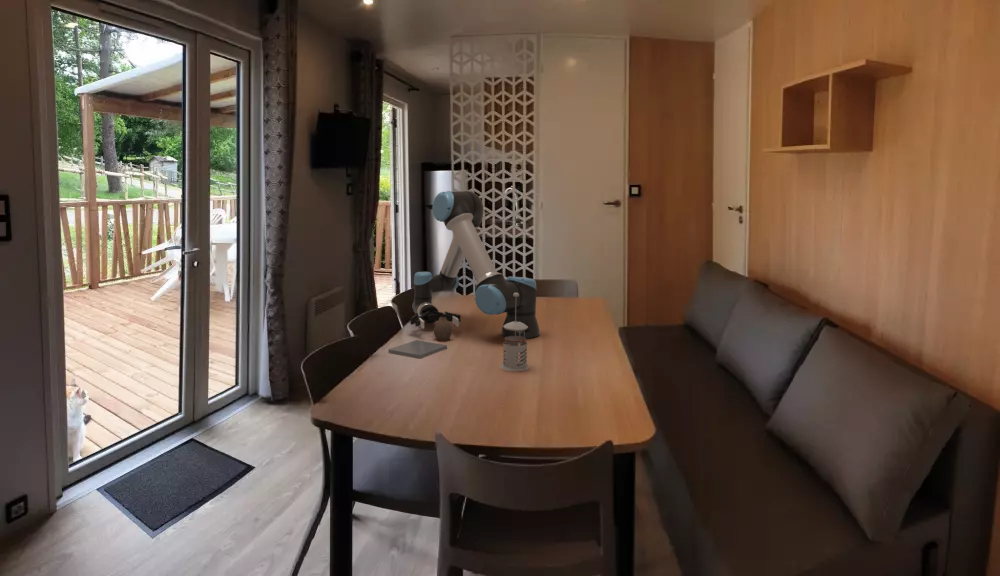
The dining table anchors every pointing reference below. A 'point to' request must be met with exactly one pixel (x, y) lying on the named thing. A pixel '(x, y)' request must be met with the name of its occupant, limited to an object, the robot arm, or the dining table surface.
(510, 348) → the french press
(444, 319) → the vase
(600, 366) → the dining table surface
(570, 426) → the dining table surface
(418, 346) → the slate tile
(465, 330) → the dining table surface
